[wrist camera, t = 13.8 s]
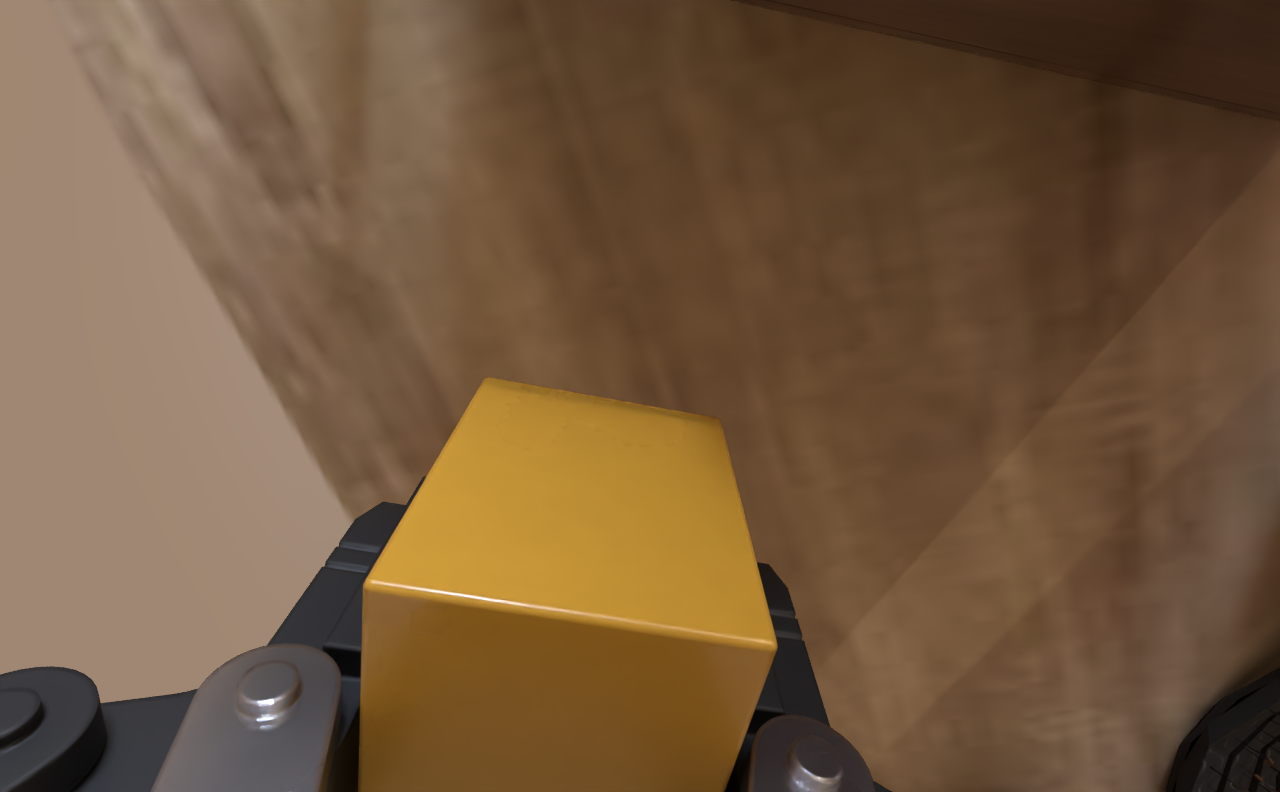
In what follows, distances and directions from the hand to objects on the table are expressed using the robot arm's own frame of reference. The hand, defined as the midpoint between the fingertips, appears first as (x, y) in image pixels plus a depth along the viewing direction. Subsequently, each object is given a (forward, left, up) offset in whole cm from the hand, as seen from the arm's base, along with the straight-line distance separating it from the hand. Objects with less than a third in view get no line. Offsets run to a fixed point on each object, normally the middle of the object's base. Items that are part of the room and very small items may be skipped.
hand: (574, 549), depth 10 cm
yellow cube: (0, 0, 0) cm, 0 cm away
